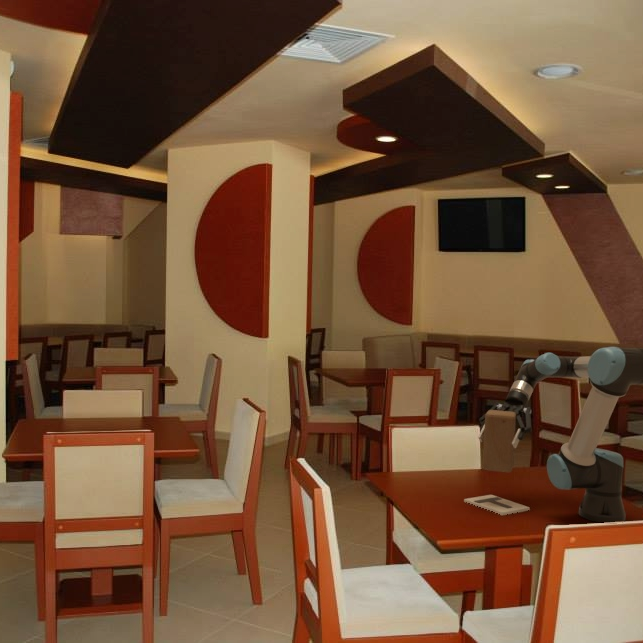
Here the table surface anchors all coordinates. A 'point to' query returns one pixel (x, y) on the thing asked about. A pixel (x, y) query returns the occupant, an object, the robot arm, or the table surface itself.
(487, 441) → the wooden block
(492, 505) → the letter board
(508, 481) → the table surface
